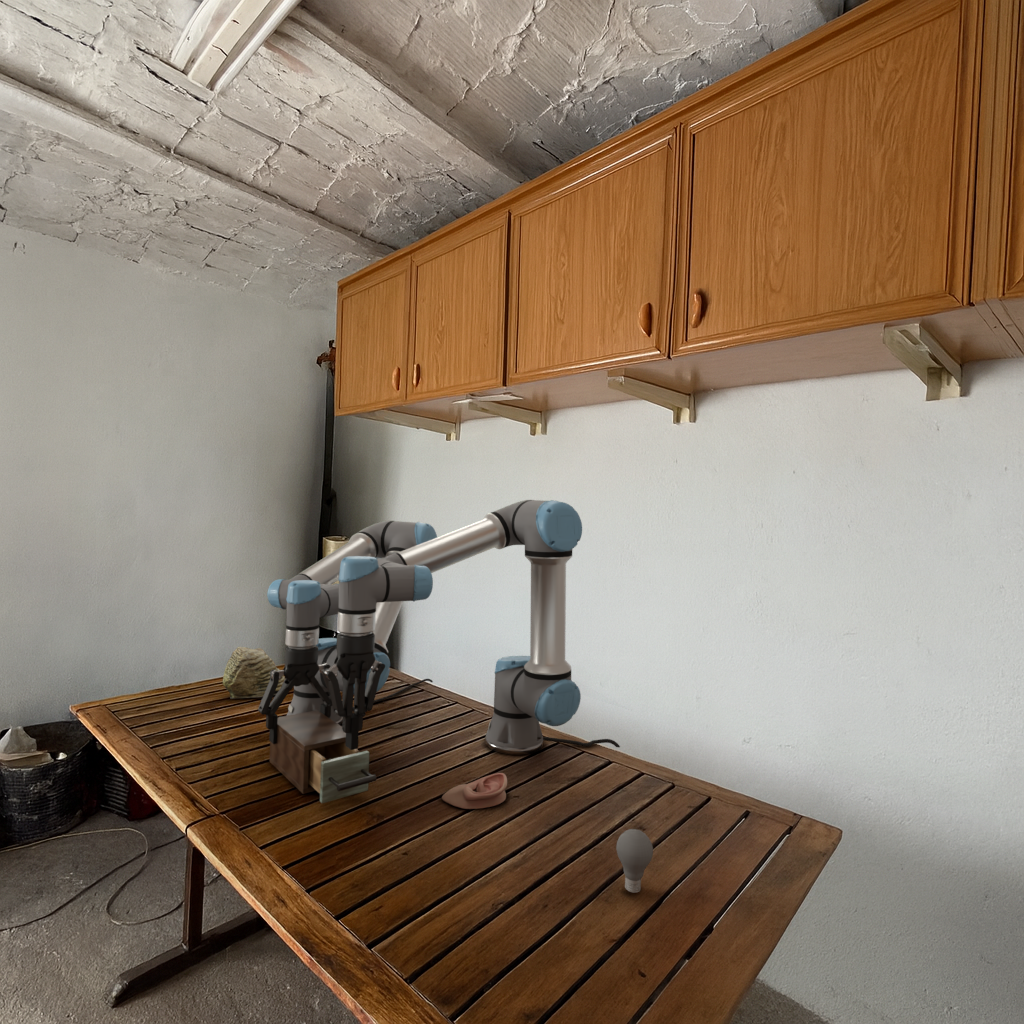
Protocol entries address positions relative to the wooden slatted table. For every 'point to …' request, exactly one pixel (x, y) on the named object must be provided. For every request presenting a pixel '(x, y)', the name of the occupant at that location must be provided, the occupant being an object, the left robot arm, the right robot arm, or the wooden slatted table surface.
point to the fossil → (249, 673)
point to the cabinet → (302, 744)
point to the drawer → (338, 771)
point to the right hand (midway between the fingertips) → (351, 747)
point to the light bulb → (634, 857)
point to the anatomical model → (478, 792)
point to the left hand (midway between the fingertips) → (298, 736)
